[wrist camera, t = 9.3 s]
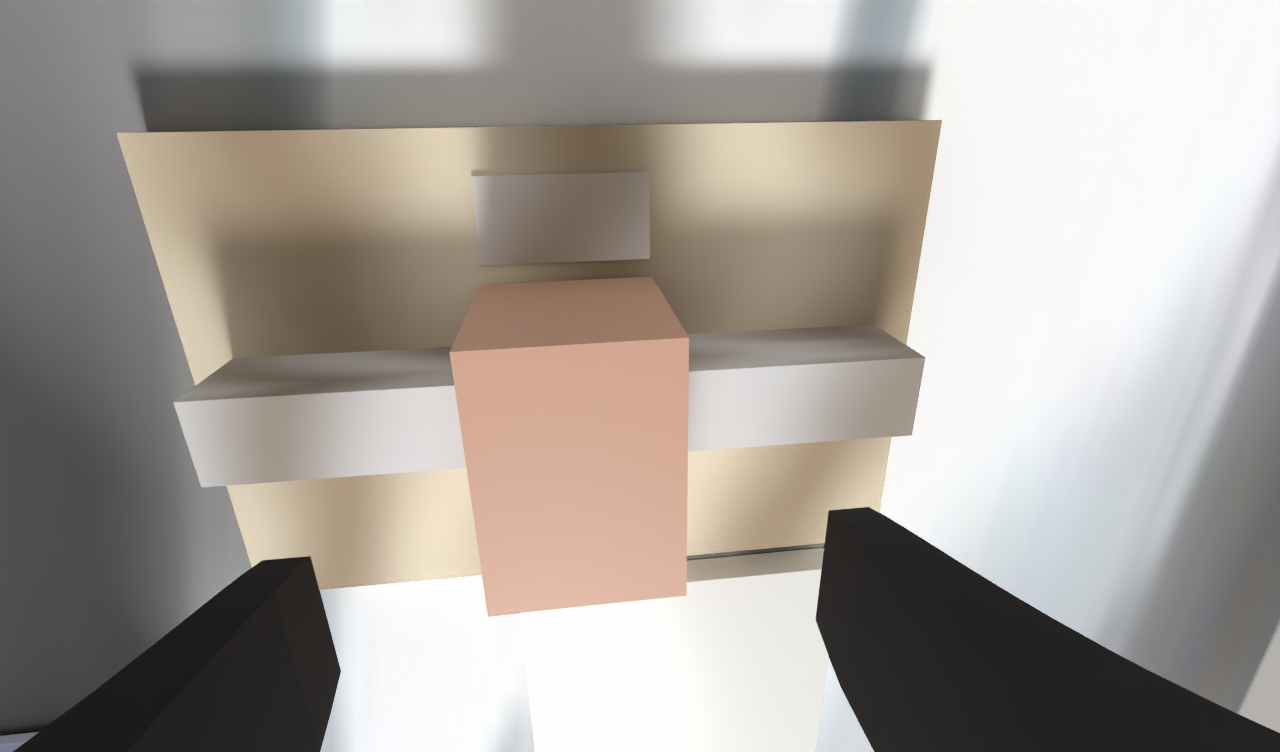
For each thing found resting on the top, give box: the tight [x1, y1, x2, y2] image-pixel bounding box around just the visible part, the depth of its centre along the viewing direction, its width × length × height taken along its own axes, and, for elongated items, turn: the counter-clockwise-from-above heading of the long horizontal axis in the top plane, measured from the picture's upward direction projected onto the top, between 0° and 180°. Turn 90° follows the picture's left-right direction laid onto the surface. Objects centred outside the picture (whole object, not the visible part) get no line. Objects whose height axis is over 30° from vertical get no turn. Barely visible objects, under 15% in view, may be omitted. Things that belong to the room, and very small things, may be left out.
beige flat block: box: [117, 120, 942, 590], centre depth 15 cm, size 18×12×4 cm, turn 90°
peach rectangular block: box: [450, 277, 689, 616], centre depth 14 cm, size 4×6×4 cm
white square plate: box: [520, 548, 829, 752], centre depth 21 cm, size 10×10×1 cm
